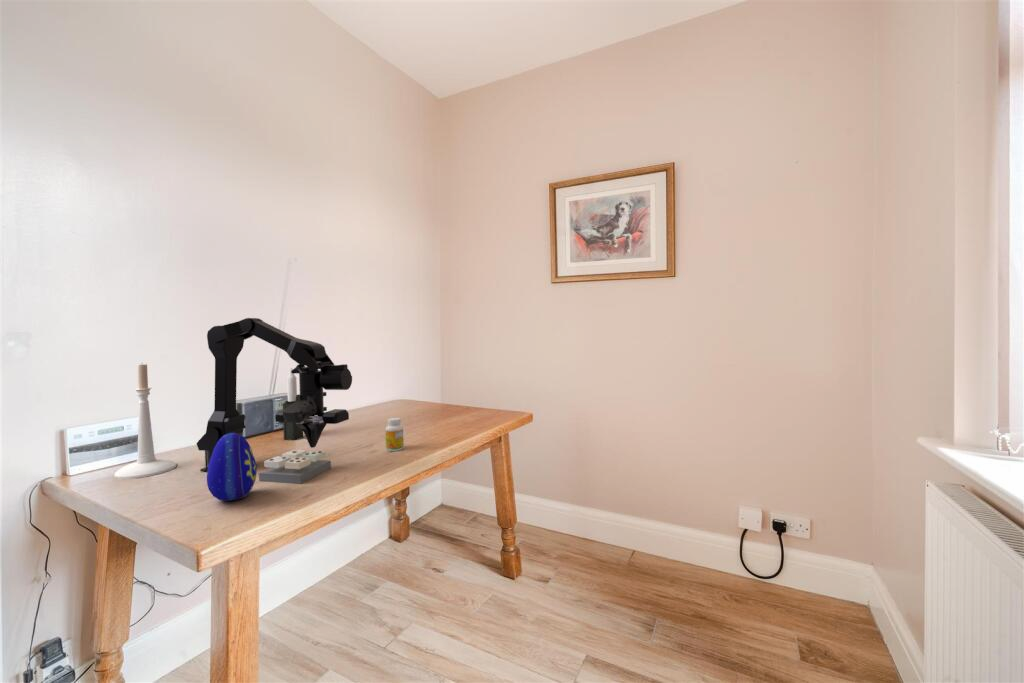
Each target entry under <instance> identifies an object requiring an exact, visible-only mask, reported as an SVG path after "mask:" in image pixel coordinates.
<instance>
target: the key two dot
mask: <svg viewBox="0 0 1024 683" xmlns="http://www.w3.org/2000/svg"><path fill="white" fill-rule="evenodd" d="M289 460H291V457H282V455H281V456H277V455H276V456H273V457H271V458H269V459H266V460H264V462H263V463H264V465H263V466H264V468H280V467H282V466H284V465H285V462H287V461H289Z"/></svg>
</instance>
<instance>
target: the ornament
mask: <svg viewBox="0 0 1024 683" xmlns="http://www.w3.org/2000/svg"><path fill="white" fill-rule="evenodd" d="M206 472H207V473H206V484H207V485H206V486H207V488H208V491H209V493H210V494H211V495H212V497H214V498H215V499H217V500H219V501H222V502H225V501H226V502H231V501H236V500H239V499H243V498H244V497H246V496H247V495H248V494H249V493H250V492H251V491H252V489H253V488H254V484H255V483H256V480H257V478H256V477H257V472H258V465H257V461H256V458H255V455H254V452H253V449H252V447H251V445H250V443H249V442H248V440H247V439H246V437H244V436H243V434H241V435H240V434H237V433H229V434H226V435H224V436H223V437H221V438H220V440H219V441H218V442H217V444H216V446H215V448H214V450H213V453H212V456H211V459H210V462H209V466H208V471H206Z"/></svg>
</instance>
